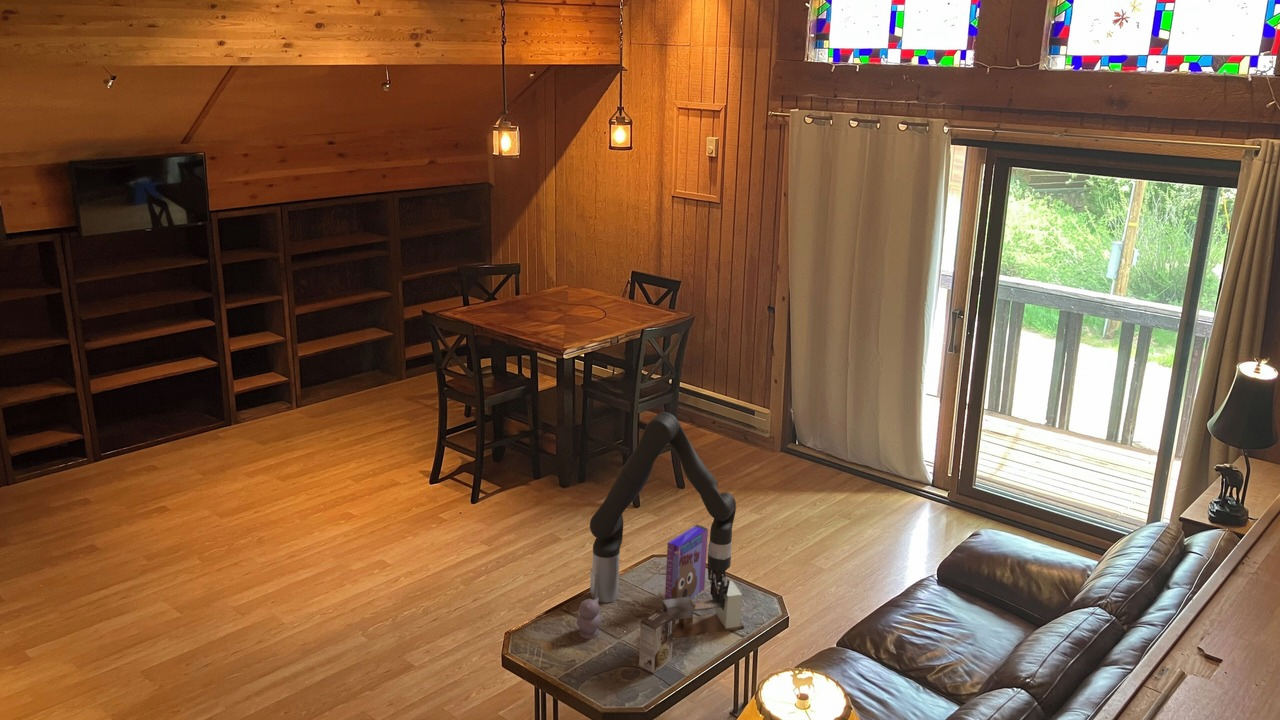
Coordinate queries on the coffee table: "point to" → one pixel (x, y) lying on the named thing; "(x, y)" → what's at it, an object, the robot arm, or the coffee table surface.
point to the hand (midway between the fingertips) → (716, 598)
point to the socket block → (731, 607)
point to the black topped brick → (708, 602)
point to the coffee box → (656, 640)
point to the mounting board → (692, 619)
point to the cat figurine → (589, 619)
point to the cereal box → (686, 563)
